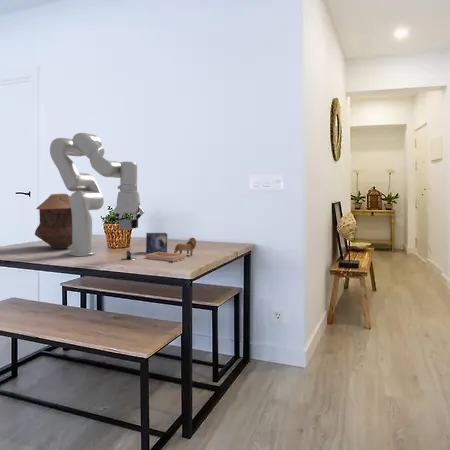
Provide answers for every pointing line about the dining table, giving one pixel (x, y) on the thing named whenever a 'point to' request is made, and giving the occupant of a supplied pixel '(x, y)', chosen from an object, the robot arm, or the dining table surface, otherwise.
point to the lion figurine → (186, 246)
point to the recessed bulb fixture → (126, 224)
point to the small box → (156, 242)
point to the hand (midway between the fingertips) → (128, 227)
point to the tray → (165, 256)
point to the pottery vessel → (55, 221)
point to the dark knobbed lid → (128, 256)
